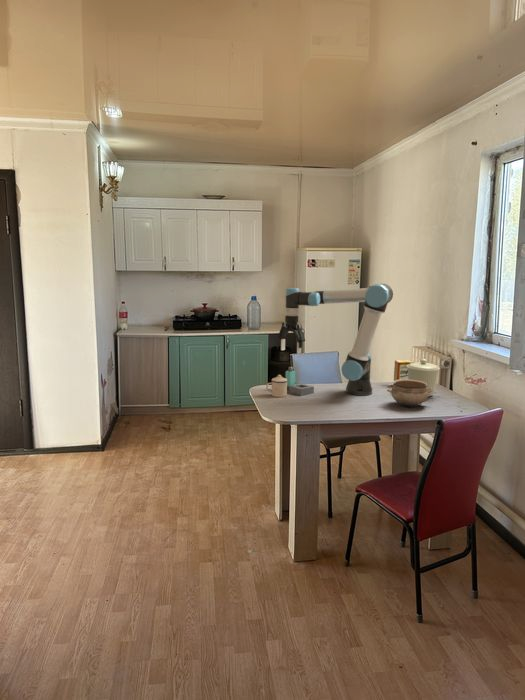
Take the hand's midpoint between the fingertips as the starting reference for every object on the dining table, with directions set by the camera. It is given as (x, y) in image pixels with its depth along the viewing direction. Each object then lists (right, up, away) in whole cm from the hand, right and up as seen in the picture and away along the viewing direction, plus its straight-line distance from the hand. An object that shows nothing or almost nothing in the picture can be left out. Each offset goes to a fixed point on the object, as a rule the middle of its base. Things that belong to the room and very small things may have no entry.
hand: (290, 351), depth 300 cm
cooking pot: (+61, -29, -25) cm, 72 cm away
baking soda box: (+69, -21, +17) cm, 75 cm away
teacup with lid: (-9, -25, -9) cm, 28 cm away
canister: (+75, -25, -3) cm, 79 cm away
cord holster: (0, -22, +4) cm, 23 cm away
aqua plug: (0, -22, +4) cm, 23 cm away
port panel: (+6, -24, -3) cm, 24 cm away
